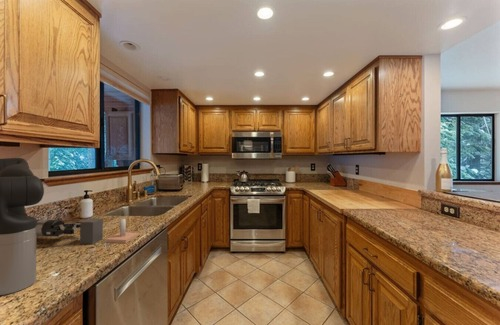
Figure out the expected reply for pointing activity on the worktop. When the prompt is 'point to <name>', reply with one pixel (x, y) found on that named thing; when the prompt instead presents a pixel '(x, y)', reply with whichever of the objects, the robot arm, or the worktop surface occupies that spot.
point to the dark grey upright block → (91, 231)
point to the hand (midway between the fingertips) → (81, 228)
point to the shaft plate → (121, 239)
